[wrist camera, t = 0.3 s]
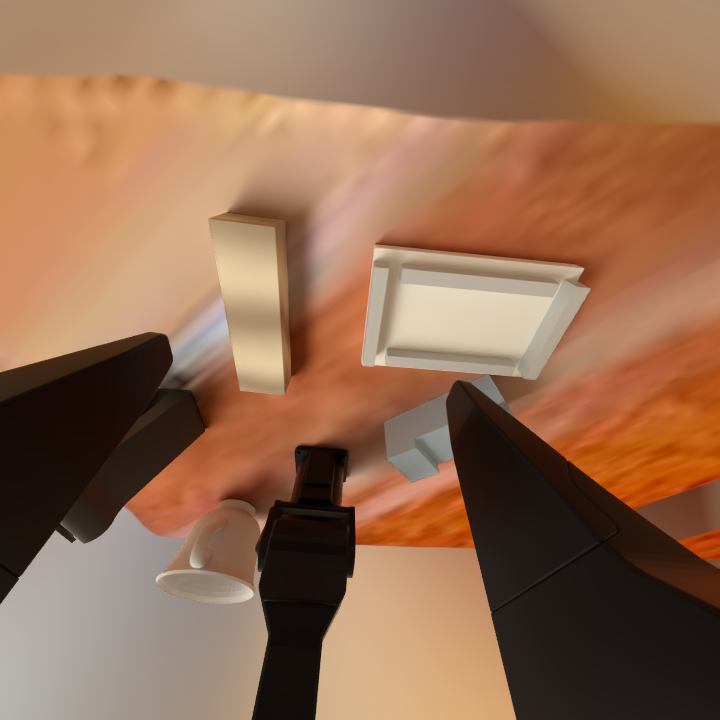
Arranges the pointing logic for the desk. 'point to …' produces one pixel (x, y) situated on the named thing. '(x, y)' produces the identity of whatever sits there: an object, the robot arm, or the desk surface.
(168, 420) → the phone stand
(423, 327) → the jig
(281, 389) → the tan rectangular bar
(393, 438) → the light blue block
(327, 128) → the desk surface
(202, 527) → the teacup
